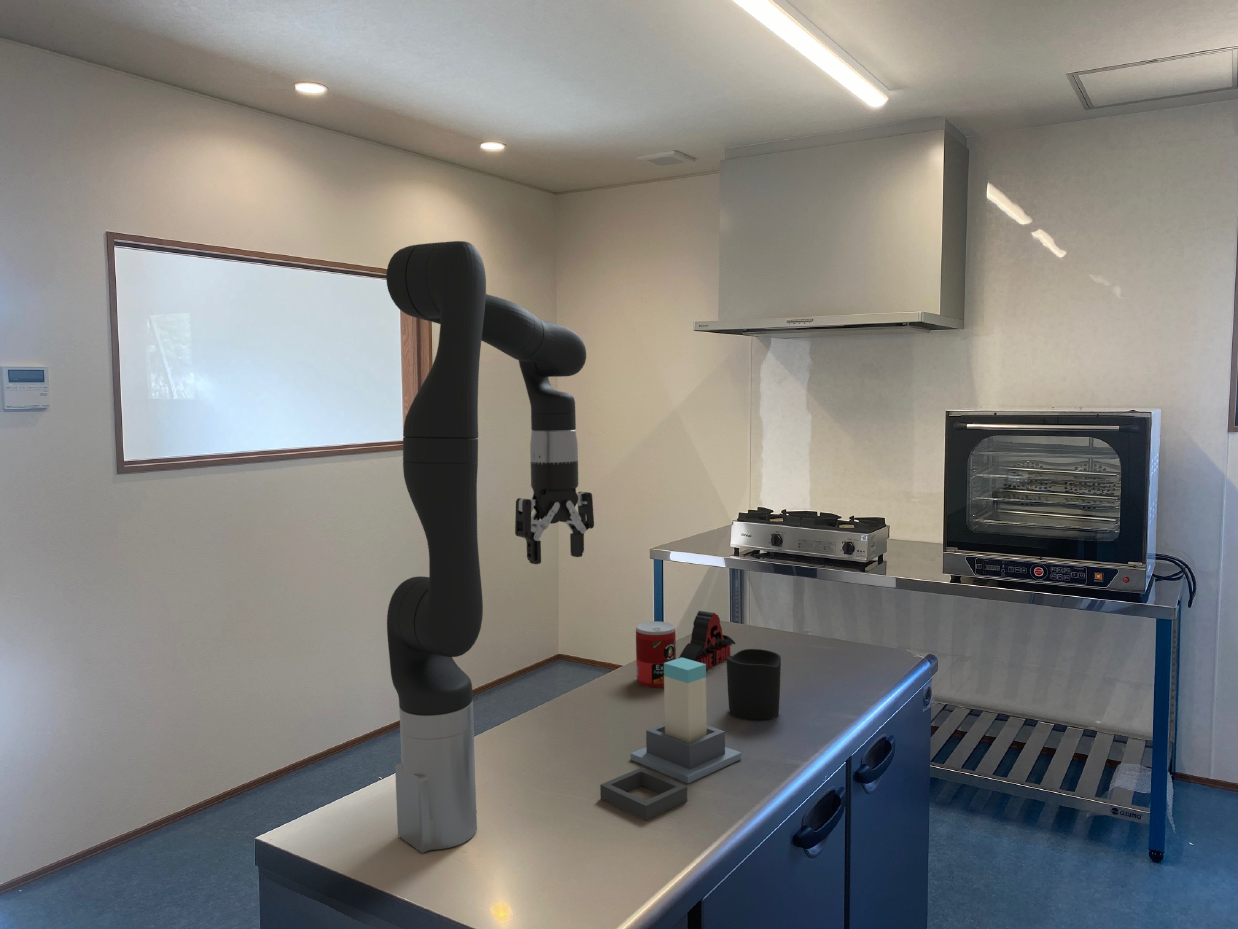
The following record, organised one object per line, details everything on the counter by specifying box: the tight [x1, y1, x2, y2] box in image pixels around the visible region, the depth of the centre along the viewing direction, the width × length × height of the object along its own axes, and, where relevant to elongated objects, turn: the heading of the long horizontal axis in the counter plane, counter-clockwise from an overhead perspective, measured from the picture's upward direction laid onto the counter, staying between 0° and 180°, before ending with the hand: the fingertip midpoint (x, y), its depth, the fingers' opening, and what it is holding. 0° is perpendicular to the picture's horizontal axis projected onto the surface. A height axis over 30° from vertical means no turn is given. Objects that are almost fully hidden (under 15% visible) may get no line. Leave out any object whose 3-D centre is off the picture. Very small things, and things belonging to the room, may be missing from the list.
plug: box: [663, 657, 708, 742], centre depth 135 cm, size 4×5×14 cm
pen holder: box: [725, 648, 782, 722], centre depth 155 cm, size 9×9×10 cm
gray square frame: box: [599, 767, 688, 821], centre depth 122 cm, size 8×9×2 cm
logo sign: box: [678, 610, 736, 671], centre depth 182 cm, size 18×4×11 cm, turn 144°
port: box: [630, 722, 742, 784], centre depth 136 cm, size 12×12×4 cm
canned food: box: [635, 621, 677, 689], centre depth 172 cm, size 8×8×11 cm
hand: (556, 560), depth 141 cm, fingers open, 8 cm apart
